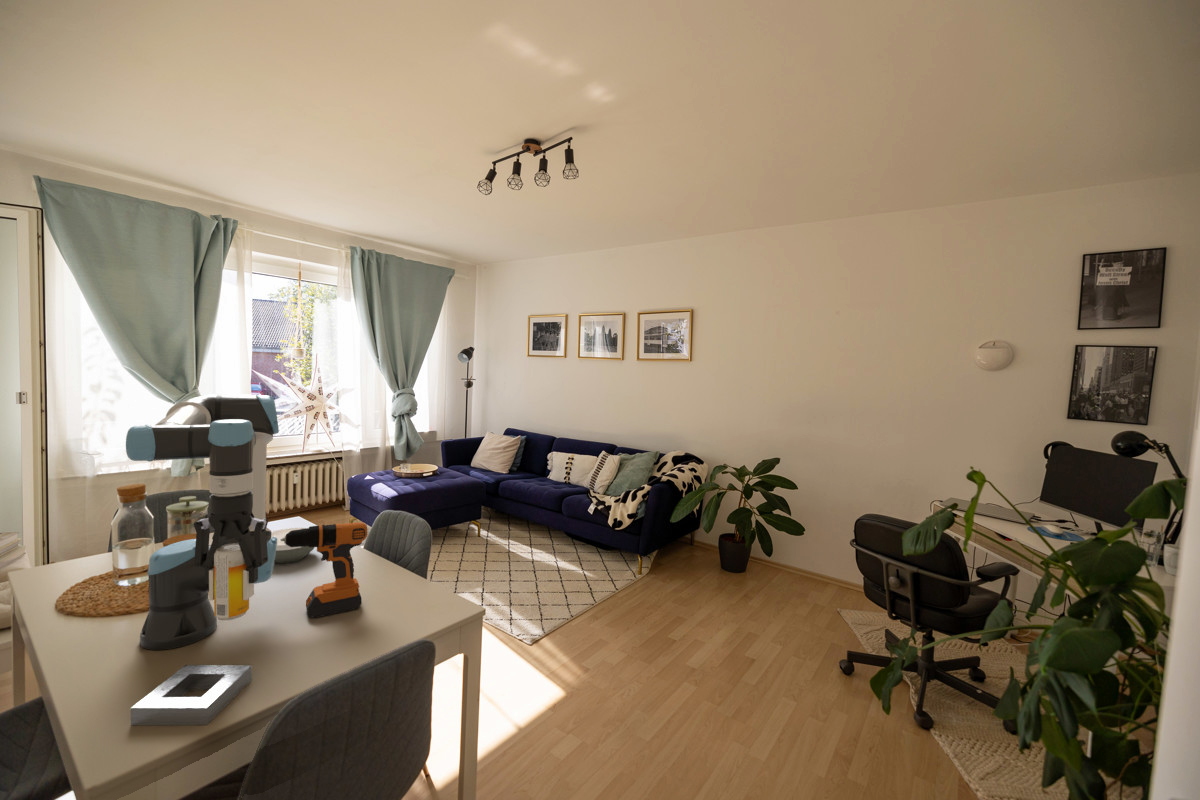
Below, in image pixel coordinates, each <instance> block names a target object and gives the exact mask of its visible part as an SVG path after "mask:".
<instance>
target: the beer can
mask: <svg viewBox="0 0 1200 800" xmlns="http://www.w3.org/2000/svg"><path fill="white" fill-rule="evenodd" d="M246 568H247V566H246V563H245V560H244V558H243V554H242V552H241V549H240V546H239V543H232V544H227V545H223V546H221V547H220V548H218V549H216V552H215V554H214V600H213V603H214V604H213V605H214V607H213V611H214V615H215V616H216V617H217V620H219V621H232V620H236V619H239V618H241V617H243V616H244V615H246V613H247V612H248V610H249V609H250V598H249V599H248V600H243V570H245V569H246Z"/></svg>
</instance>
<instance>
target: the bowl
mask: <svg viewBox="0 0 1200 800" xmlns="http://www.w3.org/2000/svg"><path fill="white" fill-rule="evenodd" d="M305 528H306V527H291V528H284V529H279V530H274V531H271V537H276V538H277V548H276V555H275V561H274V562H276V563H277V564H279V563H280V564H289V563H293V562H298V561H300V560H301V559H303V558H304V557H305V556H307V555H309V554H310V553H311V552H313V550H314V549H315V547H309V546H305V547H290V546H288V545H286V544H285V543H284V541H281V539H282V538H285V536H286V534H287V533H289V532H290V531H292V530H300V529H305Z"/></svg>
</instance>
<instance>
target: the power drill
mask: <svg viewBox="0 0 1200 800" xmlns="http://www.w3.org/2000/svg"><path fill="white" fill-rule="evenodd" d="M304 528H305V529H300V530H292V531H290V532H289V533H287V534H286V536H285V538H282V539H281V541H284V543H285V544H286V545H288V546H290V547H305V546H309V547H314V548H316V552H317V553H320V554H321V555H322V557H321V558H320V559H321V561H322V562H324V561H326V562H327V563H328V562H331V563H332V571H333V574H334V575H333V576H334V579H335V580H334V581H333V582H328V583H323V584H322V585H319V586H315V587H314V588H313V589H312V590H311V592H310V594H309V595H308V597H307V598H306V600H305V608H306V609H305V610H306V614H307V616H308V617H312V618H314V619H316V618H319V617H325V616H330V615H335V614H339V613H344V612H347V611H348V612H349V611H352V610H357V609H359V608H360V607H361V605H362V595H361V593H360V585H359V582H358V579H357V578H354V576H355V574H354V572H355V568H354V567H355V565H354V560H353V557H352V555H351V549H353V548H355V547H358V546H360V545H361V544H362V543H363V541H365V540H366V539H367V536H368V526H367V524H366V522H363V521H362V522H361V521H360V522H348V523H334V524H326V525H325V524H319V525H312V526H309V527H304Z"/></svg>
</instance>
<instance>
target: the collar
mask: <svg viewBox="0 0 1200 800" xmlns="http://www.w3.org/2000/svg"><path fill="white" fill-rule="evenodd" d="M252 672H253V668H252V665H251V664H250V665H249V664H248V665H247V664H245V665H244V664H242V665H241V664H240V665H239V664H236V665H235V664H226V665H225V664H185V665H183V666H182V667H181V668H180V669H178V670H177V671H176V672H175V673H173V674H172V675H170V677H168V678H167V679H166V680H165V681H163V682H162V683H160V684H159V685H158V686H157V687H155V688H154V689H153V690H152V691H150V692H149V693H148V694H147V695H145V696H144V697H143V698H142V699H140V700H139V701H138V702H136V703H134V705H133V706H131V707H130V726H207V725H209V724H210V723H211V721H212V720H213V719H215V717H217V716H218V715H219V713H220V712H222V711H223V710H224V708H226V707H227V706H228V705H229V703H231V701H233V700H234V698H236V697H237V696H238V694H240V693H241V692H242V691H243V689H245V688H246V687H247V685H249V684H250V683H251V682H252V680H253V679H252V678H253V677H252V676H253V674H252ZM190 690H195V691H196V690H197V691H198V690H199V691H200V690H205V691H206V690H207V691H206V692H205V693H204V694H203V695H202V696H184V695H185V694H186V693H188V692H189V691H190Z"/></svg>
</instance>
